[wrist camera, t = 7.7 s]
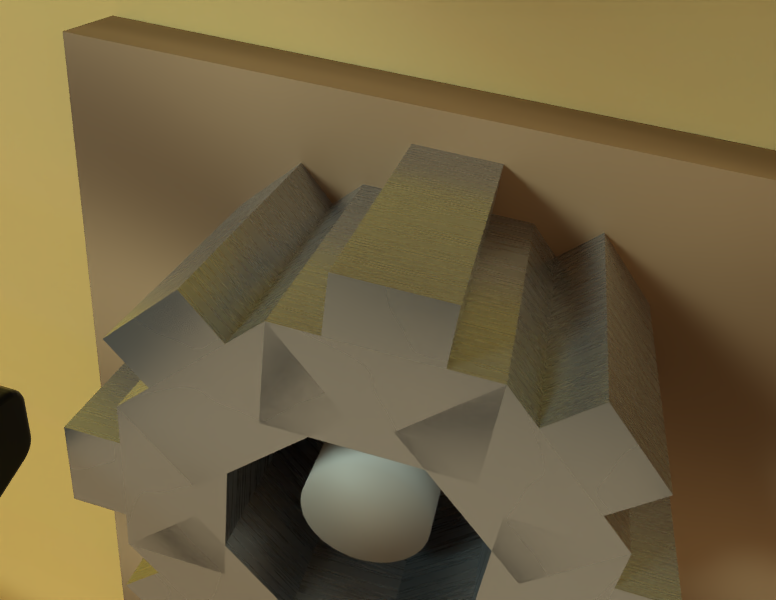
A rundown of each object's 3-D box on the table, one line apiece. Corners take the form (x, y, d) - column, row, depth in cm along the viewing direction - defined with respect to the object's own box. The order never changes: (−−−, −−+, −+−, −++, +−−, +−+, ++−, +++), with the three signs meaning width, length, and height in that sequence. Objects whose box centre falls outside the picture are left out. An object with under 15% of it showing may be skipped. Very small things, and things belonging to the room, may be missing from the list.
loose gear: (202, 467, 13) (93, 634, 11) (201, 96, 10) (31, 197, 7) (577, 577, 13) (572, 793, 10) (739, 216, 9) (811, 392, 6)
